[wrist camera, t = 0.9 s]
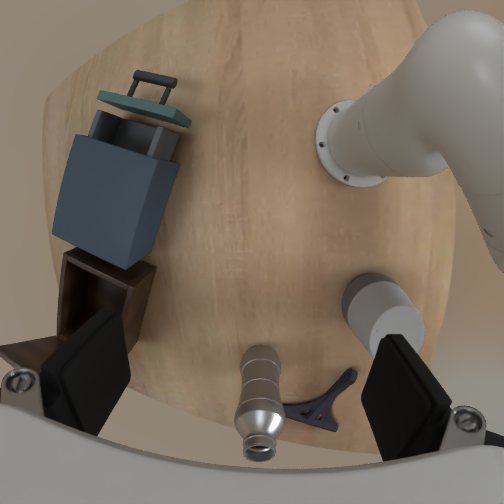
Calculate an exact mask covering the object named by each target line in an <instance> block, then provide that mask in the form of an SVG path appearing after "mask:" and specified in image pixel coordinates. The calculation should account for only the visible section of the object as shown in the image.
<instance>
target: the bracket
mask: <svg viewBox="0 0 504 504" xmlns="http://www.w3.org/2000/svg"><path fill="white" fill-rule="evenodd" d="M357 375H358V374H357V371H355V370H353V369H347V370H346V371H345V372H344V374H343V375H342V376H341V377H340V378H339V379H338V380H337V382H336V383H335V384H334V385H333V386H332V387H331V388H330V389H329V391H328V392H327V393H326V394H325V395H324V396H322V397H320V398H319V399H316V400H314V401H312V402H309V403H305V404H299V405H283V408H284V412H285V416H286V417H287V418H290V419H293V420H296V421H299V422H302V423H306V424H309V425H312V426H315V427H319V428H322V429H325V430H329V431H333V432H336V431H337V430H338V425H337V423H336V422H335V421H334V419H333V418H332V415H331V406H332V404H333V401H334V400H335V398H336V397H337V396H338V395H339V394H340V393H341V392H342V391H344V390H345V389H346V388H348V387H349V386H350V385H352V384H353V383H354V382H355V381H356V379H357ZM307 410H310V411H309V412H308V413H307V414H306V415H304V414H301V412H303V411H307ZM319 414H321V415H322V417H321V419H320V420H319V419H316V417H317V416H318V415H319Z"/></svg>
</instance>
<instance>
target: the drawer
mask: <svg viewBox="0 0 504 504" xmlns="http://www.w3.org/2000/svg"><path fill="white" fill-rule="evenodd" d="M133 79H134V81H133V83H132V85H131V87H130V90H129V92H128V94H127V96H125V95H120V94H116V93H111V92H106V91H101V90H100V92H99V94H98V97H97V99H98V100H101V101H103V102H105V103H108V104H110V105H112V106H115V107H117V108H119V109H122V110H126V111H130V112H133V113H137V114H141V115H145V116H148V117H152V118H155V119H159V120H162V121H166V122H169V123H172V124H176V125H179V126H182V127H185V128H189V126H190V123H191V120H190V119H189V118H187V117H186V116H185V115H184V114H182V113H181V112H180V111H179V110H177V109H176V108H172V107H168V106H165V103H166V101H167V98H168V96H169V94H170V92H171V88H175V87H176V85H177V79H176V78H172V77H168V76H164V75H159V74H155V73H150V72H145V71H140V70H136V71H135V73H134V75H133ZM139 81H143V82H147V83H152V84H156V85H160V86H165V87H166V89H165V91H164V94H163V96H162V98H161V100H160V103H159V104H157V103H154V102H150V101H146V100H142V99H138V98H133V97H132V96H133V94H134V92H135V89H136V87H137V85H138V83H139ZM88 137H89V138H92V139H95V140H99V141H102V142H105V143H109V144H112V145H115V146H118V147H121V148H124V149H127V150H131V151H134V152H137V153H140V154H143V155H146V156H149V157H152V158H155V159H160V160H166V161H170V159H171V156H172V154H173V151H174V148H175V146H176V143H177V141H178V138H179V135H178V134H176V133H174V132H172V131H170V130H168V129H166V128H164V127H160V126H158V127H157V128H155V127H152V126H148V125H145V124H141V123H138V122H134V121H131V120H127V119H123V118H120V117H118V116H115V115H112V114H110V113H107V112H104V111H101V110H97V112H96V115H95V118H94V120H93V123H92V126H91V129H90V131H89V134H88Z"/></svg>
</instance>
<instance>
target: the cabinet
mask: <svg viewBox="0 0 504 504" xmlns="http://www.w3.org/2000/svg"><path fill="white" fill-rule="evenodd" d="M179 167H180V164H179V163H177V162H174V161H171V160H170V161H166V160H160V159H155V158H152V157H149V156H146V155H143V154H140V153H137V152H134V151H131V150H127V149H124V148H121V147H118V146H115V145H112V144H109V143H105V142H102V141H99V140H95V139H92V138H89V137H88V136H84V135H78V134H76V135H75V138H74V141H73V145H72V148H71V151H70V154H69V158H68V161H67V165H66V169H65V172H64V176H63V180H62V184H61V189H60V193H59V197H58V202H57V207H56V212H55V217H54V223H53V229H52V234H53V235H55V236H57V237H59V238H61V239H63V240H65V241H67V242H69V243H71V244H73V245H75V246H77V247H79V248H81V249H83V250H85V251H87V252H89V253H91V254H93V255H95V256H97V257H99V258H101V259H103V260H105V261H107V262H110V263H112V264H114V265H116V266H118V267H120V268H122V269H125V270H126V269H128V268H129V267H131V266H132V265H133V264H135V263H136V262H138V261H139V260H140V259H142V258H143V257H145V256H146V255H148V254H149V253H150V252H152V248H153V245H154V241H155V238H156V235H157V232H158V228H159V225H160V222H161V219H162V216H163V213H164V210H165V207H166V204H167V201H168V198H169V195H170V192H171V189H172V186H173V184H174V181H175V178H176V175H177V172H178V170H179Z"/></svg>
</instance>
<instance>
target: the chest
mask: <svg viewBox="0 0 504 504" xmlns="http://www.w3.org/2000/svg"><path fill="white" fill-rule="evenodd" d="M156 268H157V267H155V266H153V265H151V264H148V263H146V262H144V261H141V260H139V261H138V262H136V263H135V264H133V265H132V266H131V267H129V268H128V269H126V270H125V269H122V268H120V267H118V266H116V265H114V264H112V263H110V262H107V261H105V260H103V259H101V258H99V257H97V256H95V255H93V254H91V253H89V252H87V251H85V250H83V249H81V248H79V247H76V248H74V249H72V250H70V251H67V252H65V253H64V254H63V260H62V268H61V277H60V286H59V298H58V313H57V337H59V338H60V339H62V340H64V341H66V340H67V339H68V338H69V337H71V336H72V335H73V334H74V333H75V332H76V331H77V330H78V329H79V328H80V327H81V326H83V325H84V324H85V323H86V322H87V321H88V320H89V319H90V318H91V317H92V316H94V315H95V314H96V313H97V312H98V311H99V310H100V309H102V308H105V309H110V310H116V311H117V312H118V314H119V315H121V316H122V320H123V327H124V335H125V342H126V349H127V355H128V354H129V353H130V351H131V350H132V348H133V347H134V345H135V344H136V343H137V341H138V337H139V333H140V329H141V325H142V321H143V316H144V313H145V309H146V305H147V301H148V297H149V293H150V290H151V286H152V282H153V279H154V275H155V272H156Z"/></svg>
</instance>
